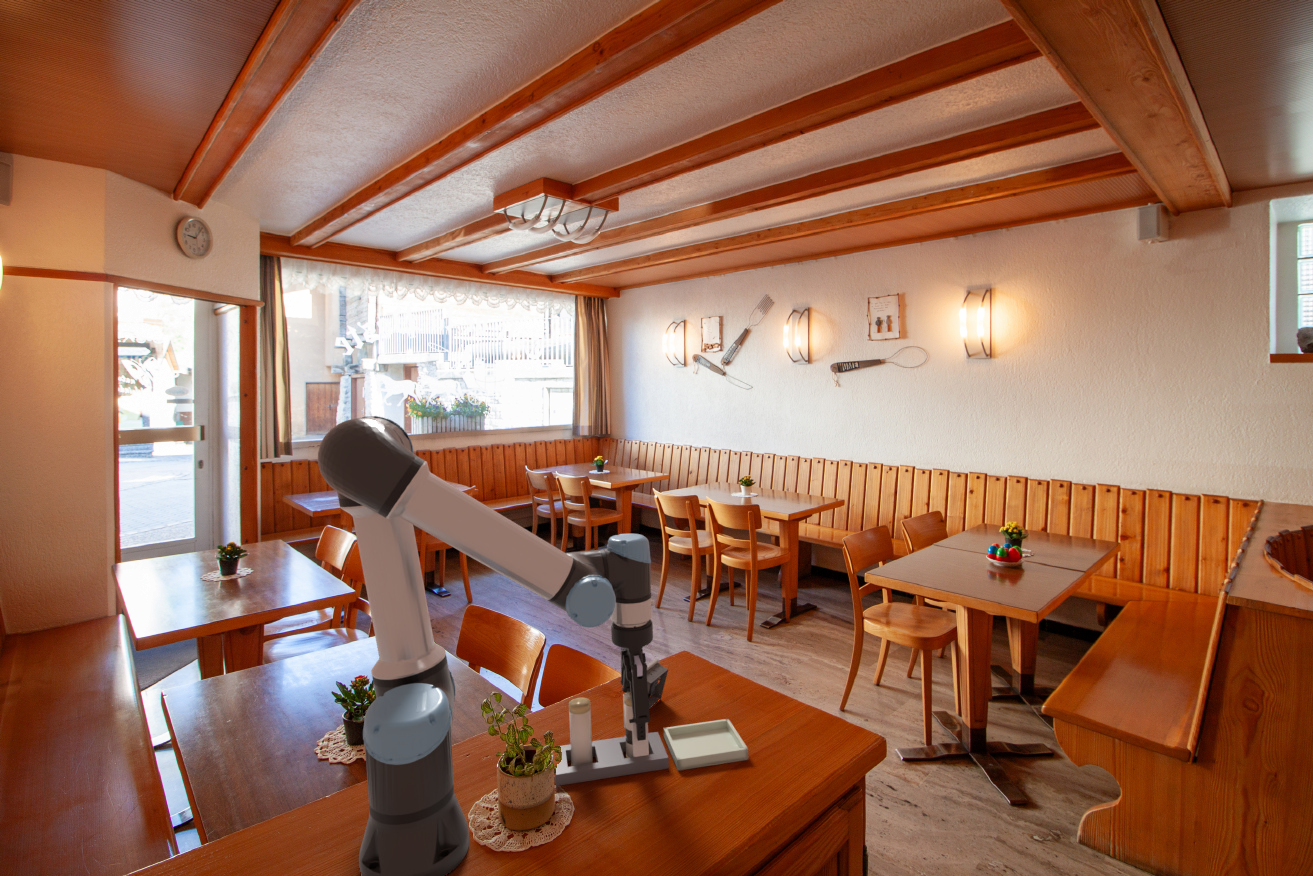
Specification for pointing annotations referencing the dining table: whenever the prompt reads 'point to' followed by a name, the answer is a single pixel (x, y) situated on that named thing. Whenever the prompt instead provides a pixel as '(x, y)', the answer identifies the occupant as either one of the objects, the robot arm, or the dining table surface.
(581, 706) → the fuse
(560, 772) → the fuse block
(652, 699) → the electrical switch
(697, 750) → the parts tray
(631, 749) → the fuse
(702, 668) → the dining table surface
